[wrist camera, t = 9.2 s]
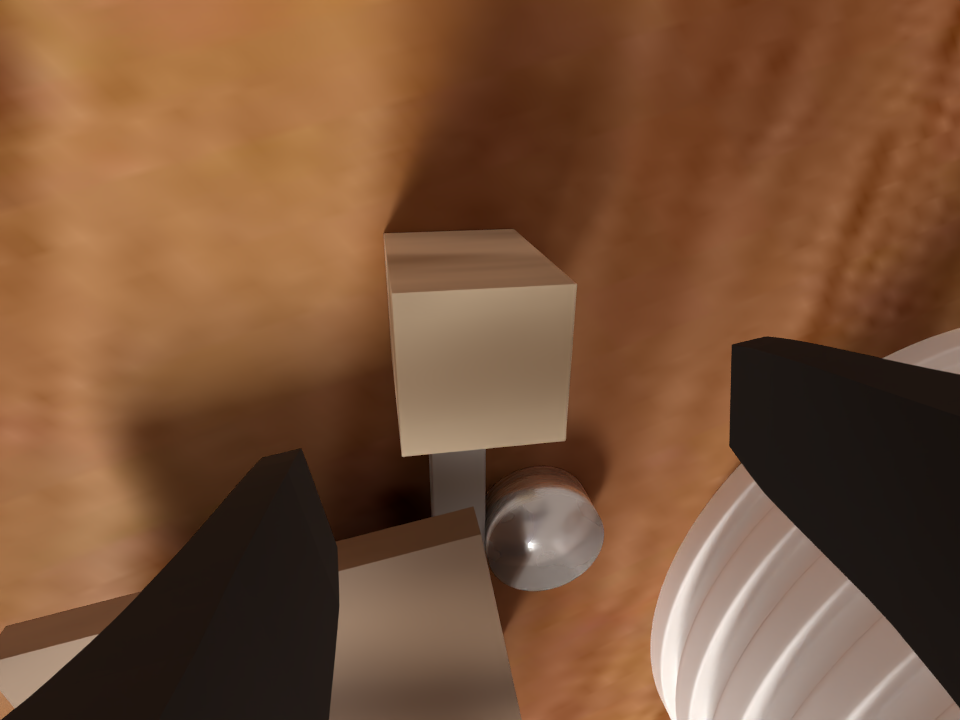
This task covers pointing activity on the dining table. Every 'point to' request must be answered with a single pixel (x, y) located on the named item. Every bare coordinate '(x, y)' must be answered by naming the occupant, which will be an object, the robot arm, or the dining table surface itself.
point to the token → (540, 529)
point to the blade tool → (476, 352)
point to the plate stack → (783, 616)
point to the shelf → (356, 629)
